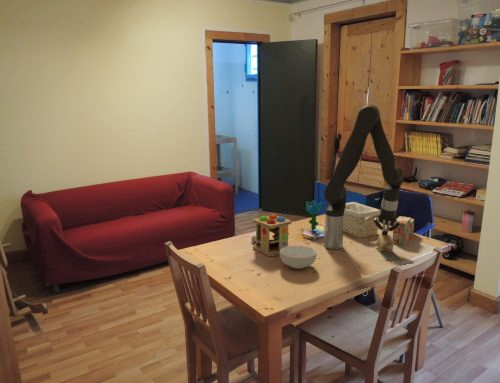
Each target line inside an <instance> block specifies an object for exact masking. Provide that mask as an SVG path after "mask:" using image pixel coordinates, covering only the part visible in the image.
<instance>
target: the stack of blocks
mask: <svg viewBox="0 0 500 383" xmlns="http://www.w3.org/2000/svg"><path fill="white" fill-rule="evenodd" d="M396 220H397V221H399V222H400V225H399V226H398V227H397V228H395V229H394V230H393V231H392V239H393V241H394V245H395V244H396V245H401V244H402V245H401V246H405V244H406V243H407V242H409V239H410V238H411V237H413V235H414V232H415V231H414V230H415V219H414V218H411V217H410V216H409V217H407V216H402V215H401V216H398V217H396ZM394 223H395V222H394ZM394 223H393V224H392V225H394ZM412 234H413V235H412Z"/></svg>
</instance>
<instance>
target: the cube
mask: <svg viewBox="0 0 500 383" xmlns="http://www.w3.org/2000/svg"><path fill="white" fill-rule="evenodd" d="M392 238H393V236H392V235H391V234H388V235H382V234H379V235H378V237H377V241H376V246H377V248H379V250H380V252H392V251H394V250H393V249H394V247H395V246H394V245H395V243H394V241H393V239H392Z"/></svg>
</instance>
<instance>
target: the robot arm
mask: <svg viewBox="0 0 500 383" xmlns="http://www.w3.org/2000/svg"><path fill="white" fill-rule="evenodd" d="M369 134H370V136H371V139H372V144H373V146H374V150H375V154H376V156H377V158H378V161H379V163H380V166H381V172H382V177H383V179H384V181H385V183H386V186H385V187H384V190H383V195H382V196H383V197H382V200H381V204H380V215H379V217H378V218H374V222H375V224H376V225H377V227H378V230H381V235H389V232H393V230H394V229H395V228H397V227H398V226H399V225H400V222H399V221H397V220H396V219H397V211H398V205H399V197H400V196H399V195H400V189H401V187H402V183H403V180H404V171H403V169H402V168H400V167H398V166H396V165H395V163H396V157H395V155H394V152H393V150H392V147H391V145H390V143H389V140H388V138H387V135H386V134H385V131H384V127H383V124H382V119H381V115H380V111H379V109H378V107H377V106H376V105H373V104H367V105H365V106H363V107H362V108H360V110H359V111H358V113H357V116H356V120H355V123H354V127H353V130H352V132H351V134H349V137H348V139H347V141H346V142H345V144H344V147H343V149H342V151H341V153H340V156H339V159H338V161H337V163H336V166H335V169H334V172H333V174H332V176H331V178H330V179H329V182H328V183H327V185H326V187H325V189H324V192H323V198H324V199H325V202H327V203H328V205H327V207H326V209H325V221H324V222H325V224H324V227H323V245H324V248H325V249H331V250H340V249H342V248H343V246H344V245H343V240H344V231H343V222H344V211H345V209H346V208H345V207H346V203H347V189H346V187H345V183H346V182H347V180H348V178H349V177H350V176H351V174H352V173H354V170H355V169H356V167H357V166H358V164H359V162H360V159H361V158H362V155H363V152H364V150H365V147H366V142H367V139H368V136H369ZM394 222H395V223H394ZM393 224H394V225H393Z"/></svg>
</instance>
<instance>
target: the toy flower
mask: <svg viewBox="0 0 500 383" xmlns="http://www.w3.org/2000/svg"><path fill="white" fill-rule="evenodd" d="M305 204H306V205H305V210H306V211H307V212H308V214H311V219H310V220H308V223H309V224H311V225H310V226H311V227H310V228H311V229H312V230H314V229H317V227H316V226H319V222H318V221H317V215H318V214H319V213H320V212H321V211H322V210H323V203H322V202H319V203H318V202H317V201H315V200H314V199H313V200H312V201H306V202H305ZM311 229H310V230H311Z"/></svg>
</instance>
